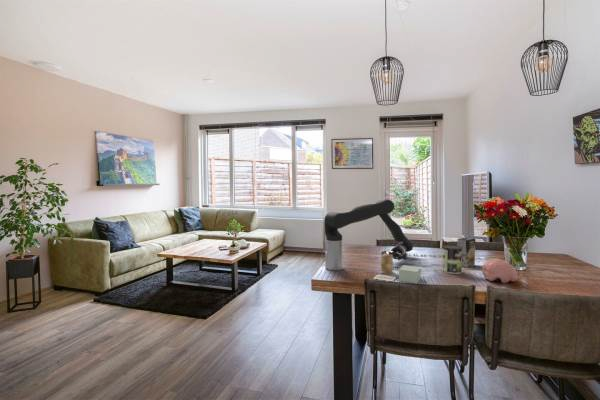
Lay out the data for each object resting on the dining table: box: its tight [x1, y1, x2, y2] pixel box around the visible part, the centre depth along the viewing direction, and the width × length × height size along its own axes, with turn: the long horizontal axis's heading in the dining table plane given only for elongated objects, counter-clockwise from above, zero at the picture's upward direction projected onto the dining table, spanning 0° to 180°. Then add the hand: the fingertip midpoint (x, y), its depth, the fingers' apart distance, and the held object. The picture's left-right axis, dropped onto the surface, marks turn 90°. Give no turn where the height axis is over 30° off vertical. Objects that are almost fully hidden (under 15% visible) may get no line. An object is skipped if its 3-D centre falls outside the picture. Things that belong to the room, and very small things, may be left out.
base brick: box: [398, 264, 422, 284], centre depth 168 cm, size 9×9×6 cm
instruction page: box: [372, 274, 397, 282], centre depth 171 cm, size 10×8×1 cm
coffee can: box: [441, 244, 462, 275], centre depth 181 cm, size 10×10×14 cm
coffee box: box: [456, 236, 476, 268], centre depth 193 cm, size 9×6×16 cm
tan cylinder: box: [380, 253, 394, 275], centre depth 181 cm, size 5×5×10 cm
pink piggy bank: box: [481, 258, 518, 284], centre depth 164 cm, size 16×13×12 cm
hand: (391, 257), depth 188 cm, fingers open, 8 cm apart
